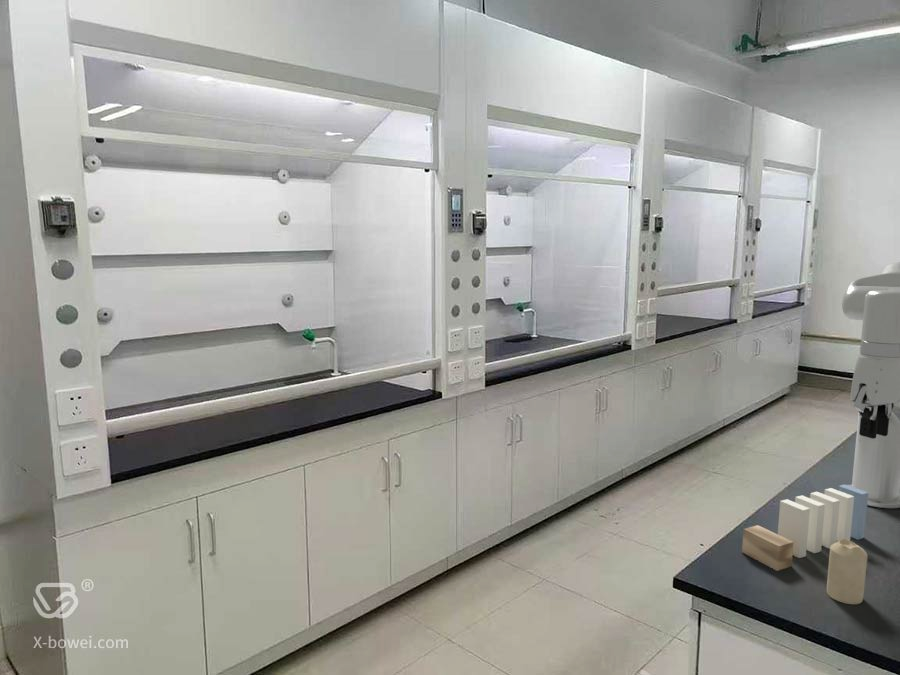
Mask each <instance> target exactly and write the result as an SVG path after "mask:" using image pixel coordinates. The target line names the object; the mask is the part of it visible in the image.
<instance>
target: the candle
mask: <svg viewBox="0 0 900 675" xmlns="http://www.w3.org/2000/svg"><path fill="white" fill-rule="evenodd" d="M828 558H829V559H828V568H827V578H826V579H827V581H826V593H827V595H828V596H829V598H831V599H833V600H835V601H837V602H839V603H842V604H847V605H859V604H861V603H862V602H863V600H864V593H865V583H866V575H867V574H866V572H867V563H868V553H867V551H866V550H865V549H864V548H863V547H861V546H859V545H858V544H856V543H855V542H853V541H851V540H850V541H848V540H846V539H842V540H840V541H836V543H834V544H833V545H831V546H830V549H829V556H828Z"/></svg>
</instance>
